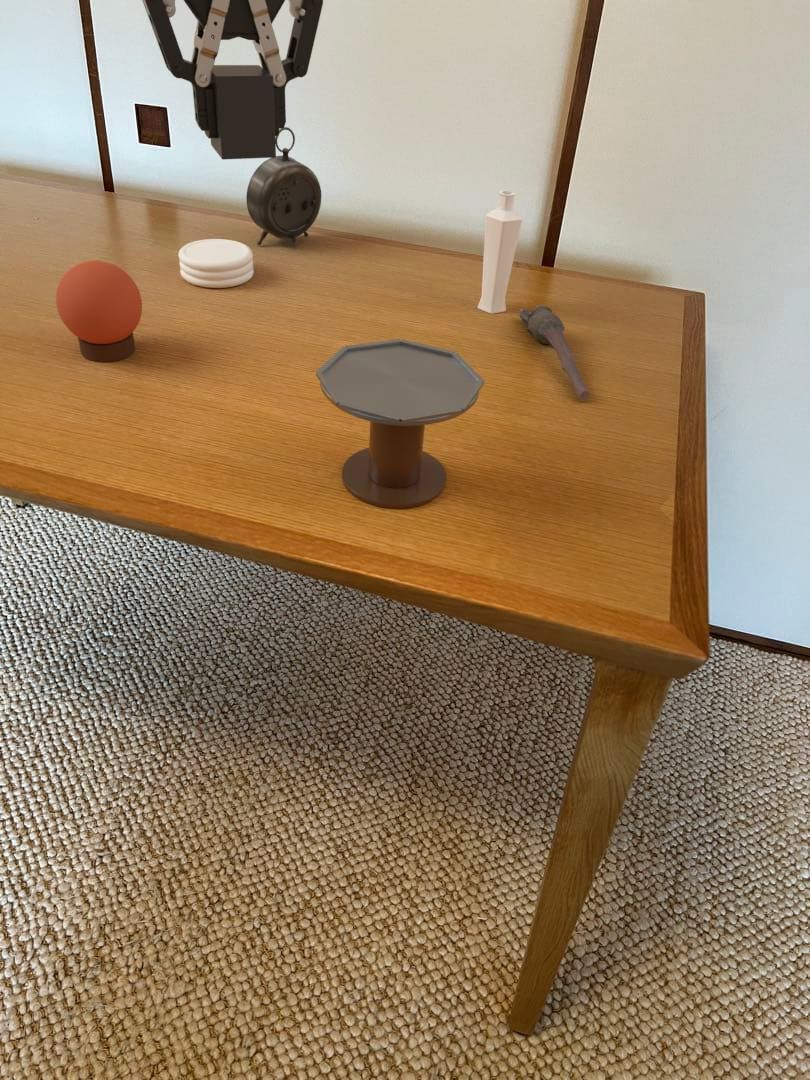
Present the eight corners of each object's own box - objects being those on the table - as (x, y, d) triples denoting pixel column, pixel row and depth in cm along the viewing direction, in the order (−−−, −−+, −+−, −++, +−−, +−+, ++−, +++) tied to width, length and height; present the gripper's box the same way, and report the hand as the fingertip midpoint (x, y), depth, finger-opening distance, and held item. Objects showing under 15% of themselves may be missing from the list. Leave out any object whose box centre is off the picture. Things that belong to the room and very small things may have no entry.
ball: (71, 373, 90) (51, 283, 83) (63, 338, 96) (44, 252, 89) (154, 362, 93) (141, 275, 86) (142, 329, 99) (129, 245, 92)
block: (222, 159, 66) (215, 76, 62) (211, 145, 69) (204, 64, 66) (276, 157, 68) (273, 75, 64) (262, 143, 71) (259, 64, 67)
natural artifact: (529, 326, 109) (549, 302, 108) (584, 405, 92) (610, 378, 90) (508, 310, 107) (529, 285, 106) (561, 388, 90) (587, 360, 88)
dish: (349, 535, 71) (352, 429, 64) (302, 451, 80) (299, 350, 74) (492, 505, 75) (508, 403, 68) (430, 429, 85) (439, 332, 78)
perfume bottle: (502, 317, 108) (519, 200, 99) (471, 310, 109) (485, 194, 100) (513, 305, 111) (531, 191, 102) (483, 298, 113) (498, 185, 103)
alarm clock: (307, 231, 129) (305, 119, 119) (327, 242, 126) (327, 128, 116) (247, 244, 123) (240, 127, 113) (266, 255, 120) (260, 136, 110)
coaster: (268, 279, 113) (266, 254, 111) (205, 295, 108) (203, 269, 106) (228, 257, 119) (226, 232, 116) (167, 271, 113) (164, 246, 111)
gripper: (308, -124, 62) (311, 122, 73) (113, -139, 57) (146, 126, 68) (339, -121, 57) (337, 144, 67) (127, -138, 52) (161, 150, 63)
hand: (241, 134), depth 68 cm, fingers closed on block, 4 cm apart
